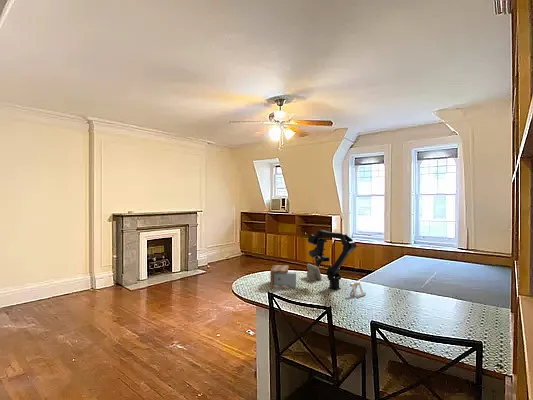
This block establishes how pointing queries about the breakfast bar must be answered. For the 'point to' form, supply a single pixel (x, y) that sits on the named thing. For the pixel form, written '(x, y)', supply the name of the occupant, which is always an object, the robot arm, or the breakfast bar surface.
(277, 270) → the cubby cabinet
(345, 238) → the robot arm
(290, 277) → the gray rectangular box
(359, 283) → the portable electronic device stand
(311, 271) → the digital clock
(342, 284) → the breakfast bar surface
